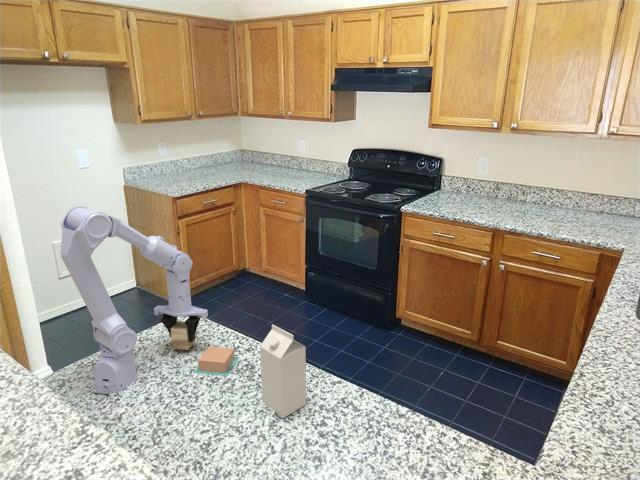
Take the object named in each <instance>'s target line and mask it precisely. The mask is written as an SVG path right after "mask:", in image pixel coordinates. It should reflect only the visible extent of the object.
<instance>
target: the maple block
mask: <svg viewBox="0 0 640 480" xmlns="http://www.w3.org/2000/svg"><path fill="white" fill-rule="evenodd" d="M170 338H172V339H171V345H172V346H171V348H172V349H174V350H185V351H188V350H190V348H191V347H192V346H193V345H194V344H195V343H196V338H195V339H194V340H193V342H189V337H188V329H187V326H186V323H185V321H179V320H177V323H176V324H175V325H174V326H173V327H172V328H171V336H170Z"/></svg>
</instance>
